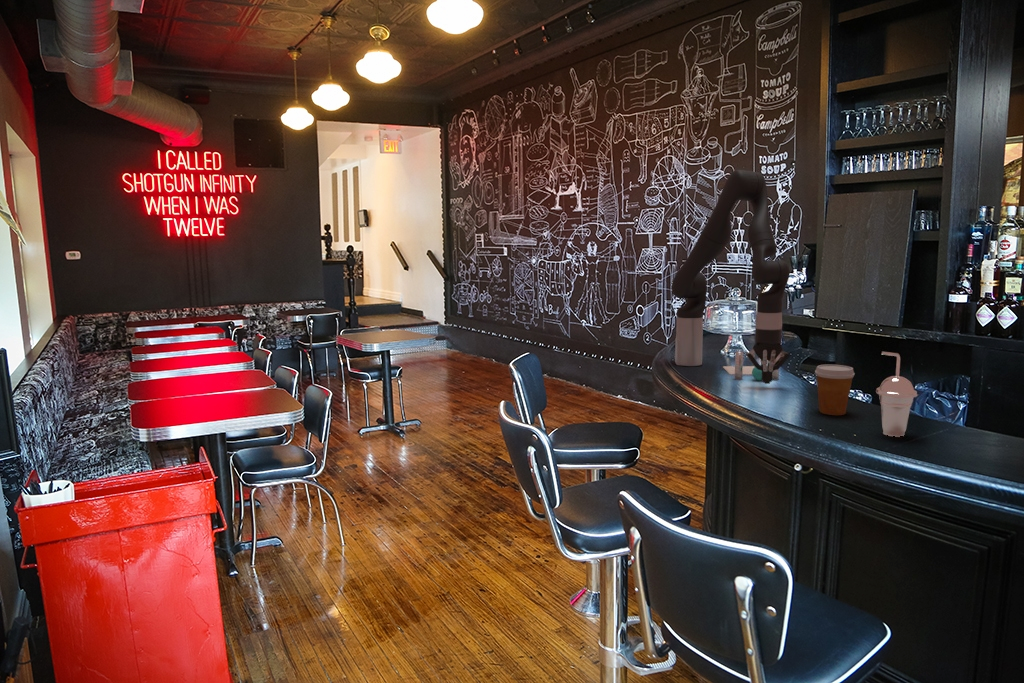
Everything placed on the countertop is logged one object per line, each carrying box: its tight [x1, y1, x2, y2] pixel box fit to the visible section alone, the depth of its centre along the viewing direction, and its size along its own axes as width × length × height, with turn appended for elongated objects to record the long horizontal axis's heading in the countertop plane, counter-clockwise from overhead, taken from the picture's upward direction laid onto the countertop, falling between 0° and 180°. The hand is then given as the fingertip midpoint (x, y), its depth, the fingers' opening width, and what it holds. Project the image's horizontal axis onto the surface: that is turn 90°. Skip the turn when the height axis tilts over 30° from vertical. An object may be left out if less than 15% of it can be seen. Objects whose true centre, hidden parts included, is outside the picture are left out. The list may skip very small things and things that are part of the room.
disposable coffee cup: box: [814, 364, 856, 416], centre depth 184 cm, size 10×10×12 cm
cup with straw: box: [875, 350, 918, 438], centre depth 163 cm, size 8×9×20 cm
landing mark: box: [722, 365, 755, 376], centre depth 241 cm, size 14×14×1 cm
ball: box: [751, 367, 762, 381], centre depth 225 cm, size 5×5×5 cm
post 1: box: [734, 350, 744, 381], centre depth 228 cm, size 2×2×9 cm
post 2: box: [772, 353, 781, 381], centre depth 226 cm, size 2×2×9 cm
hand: (766, 383), depth 215 cm, fingers closed
